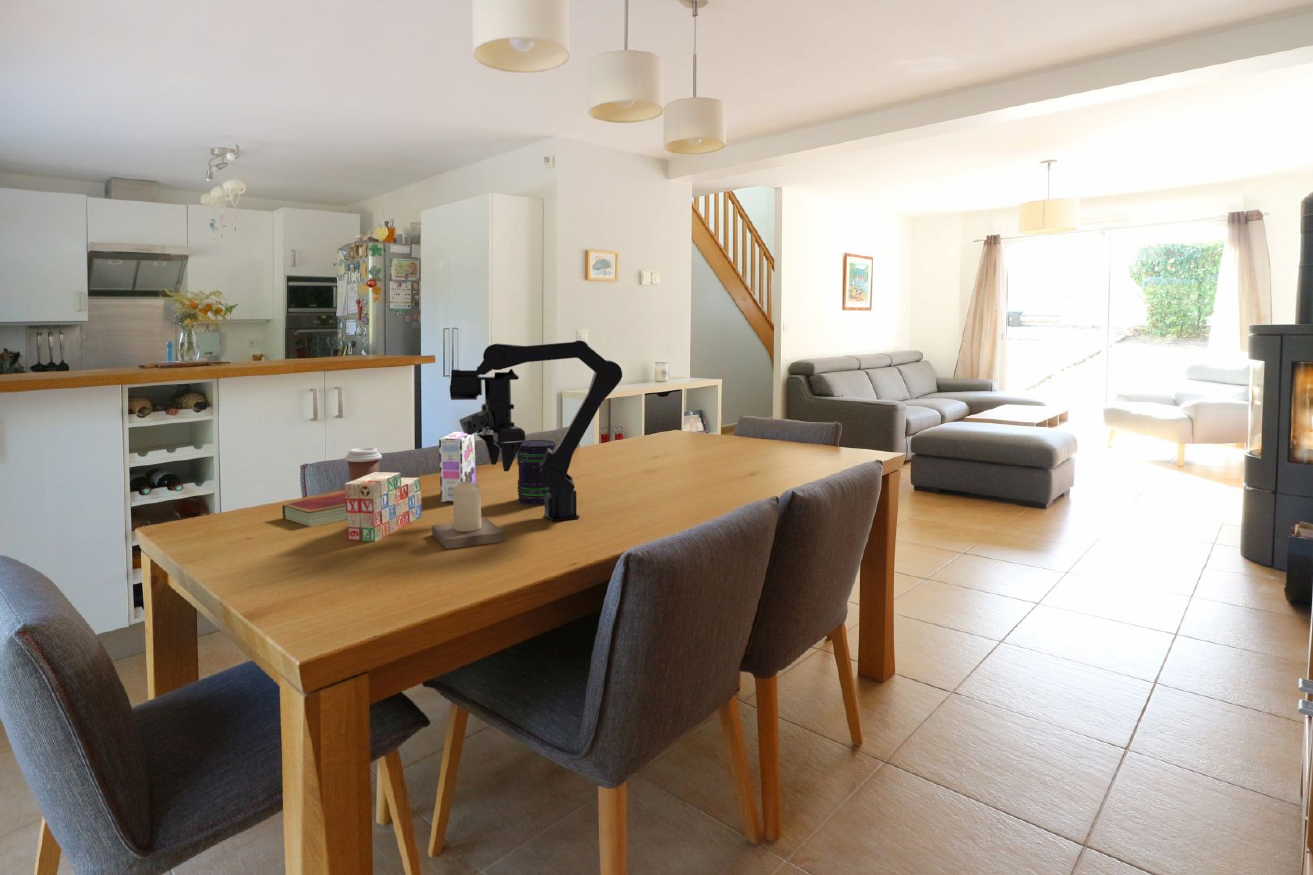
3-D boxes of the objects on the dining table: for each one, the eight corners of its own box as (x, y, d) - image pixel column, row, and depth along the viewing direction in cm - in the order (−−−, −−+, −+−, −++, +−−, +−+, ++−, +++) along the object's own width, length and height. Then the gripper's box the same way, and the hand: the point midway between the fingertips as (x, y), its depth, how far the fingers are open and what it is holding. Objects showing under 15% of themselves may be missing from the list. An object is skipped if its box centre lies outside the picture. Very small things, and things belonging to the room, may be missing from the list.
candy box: (463, 503, 189) (461, 438, 187) (440, 503, 189) (437, 438, 187) (477, 491, 203) (475, 430, 200) (455, 491, 203) (453, 430, 201)
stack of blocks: (397, 515, 177) (394, 464, 175) (422, 516, 176) (420, 465, 174) (347, 540, 156) (343, 482, 154) (375, 542, 155) (372, 483, 153)
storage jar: (537, 494, 199) (536, 438, 197) (565, 499, 194) (564, 442, 191) (509, 501, 191) (508, 443, 189) (537, 507, 186) (536, 447, 183)
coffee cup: (352, 491, 202) (350, 446, 200) (387, 490, 203) (385, 446, 201) (342, 498, 193) (339, 452, 191) (378, 498, 194) (376, 452, 192)
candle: (486, 526, 160) (485, 480, 158) (471, 533, 154) (470, 485, 153) (464, 524, 161) (463, 478, 160) (448, 530, 156) (447, 483, 155)
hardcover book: (282, 520, 173) (281, 502, 173) (365, 504, 190) (365, 487, 189) (310, 529, 166) (308, 510, 165) (394, 511, 182) (393, 494, 182)
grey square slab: (487, 527, 166) (487, 518, 166) (504, 541, 156) (504, 531, 156) (432, 534, 160) (431, 525, 160) (446, 549, 150) (446, 539, 150)
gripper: (451, 397, 174) (453, 464, 176) (474, 405, 158) (476, 478, 160) (498, 395, 179) (500, 460, 182) (525, 402, 163) (526, 473, 166)
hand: (499, 467), depth 172 cm, fingers open, 9 cm apart
